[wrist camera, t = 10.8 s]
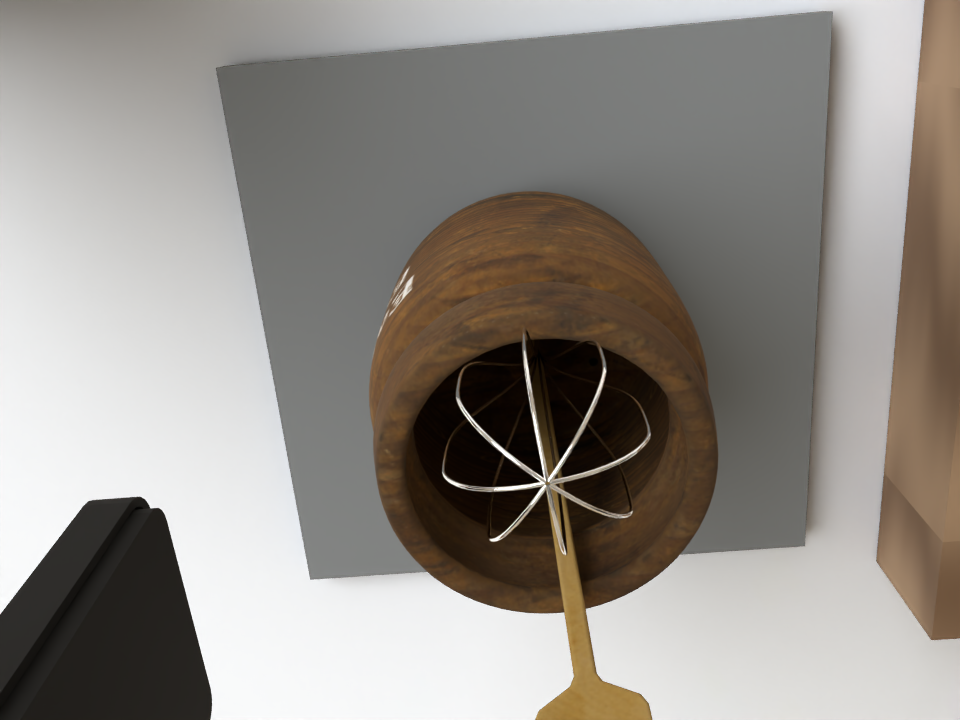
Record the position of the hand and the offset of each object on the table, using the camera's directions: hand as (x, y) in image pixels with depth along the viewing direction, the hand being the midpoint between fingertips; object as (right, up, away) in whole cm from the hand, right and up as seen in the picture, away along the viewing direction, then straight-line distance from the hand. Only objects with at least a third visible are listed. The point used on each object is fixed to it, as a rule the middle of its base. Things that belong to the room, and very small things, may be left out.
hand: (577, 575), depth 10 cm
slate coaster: (0, +3, +10) cm, 11 cm away
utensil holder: (0, +3, +10) cm, 10 cm away
